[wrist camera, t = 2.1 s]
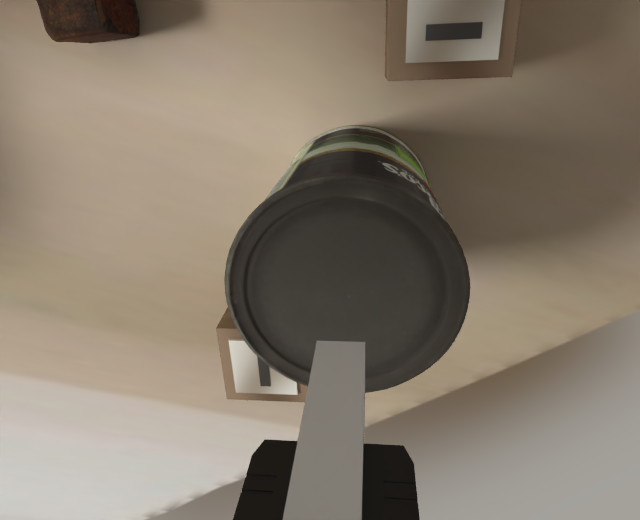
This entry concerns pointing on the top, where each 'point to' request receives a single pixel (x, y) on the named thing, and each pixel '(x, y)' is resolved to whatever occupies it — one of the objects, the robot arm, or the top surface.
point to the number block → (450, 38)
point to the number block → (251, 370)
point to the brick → (89, 20)
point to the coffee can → (349, 262)
